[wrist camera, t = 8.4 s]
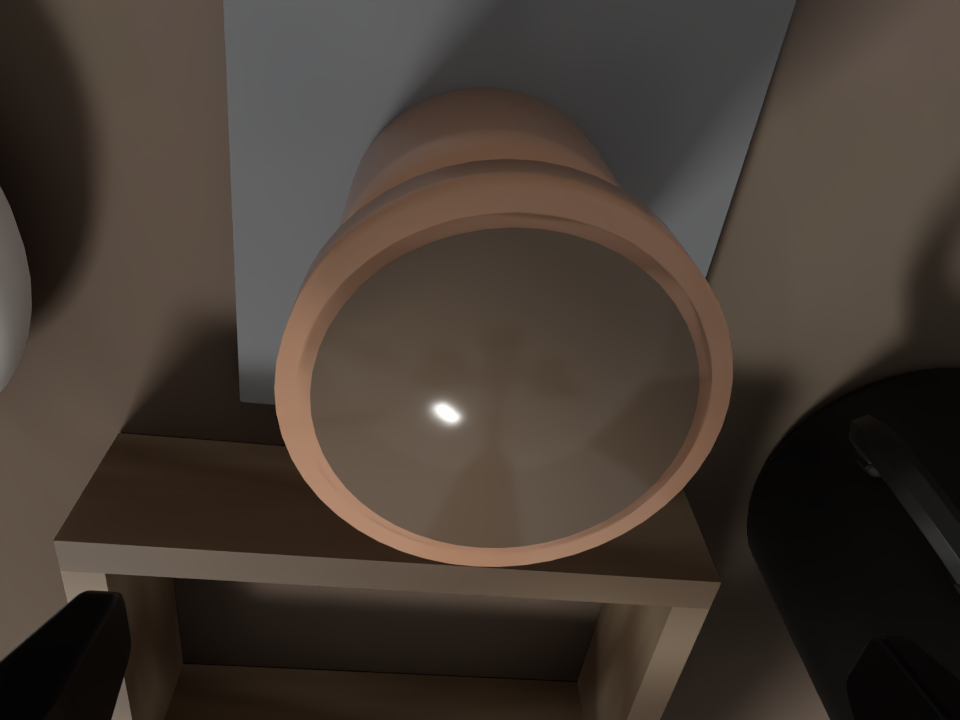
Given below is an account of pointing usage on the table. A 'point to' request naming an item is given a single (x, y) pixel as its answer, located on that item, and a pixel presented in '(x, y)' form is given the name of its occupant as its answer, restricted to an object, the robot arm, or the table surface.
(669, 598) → the frame
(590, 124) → the slate tile
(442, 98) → the terracotta pot
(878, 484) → the mug
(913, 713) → the robot arm
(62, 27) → the table surface
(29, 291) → the flower in vase
